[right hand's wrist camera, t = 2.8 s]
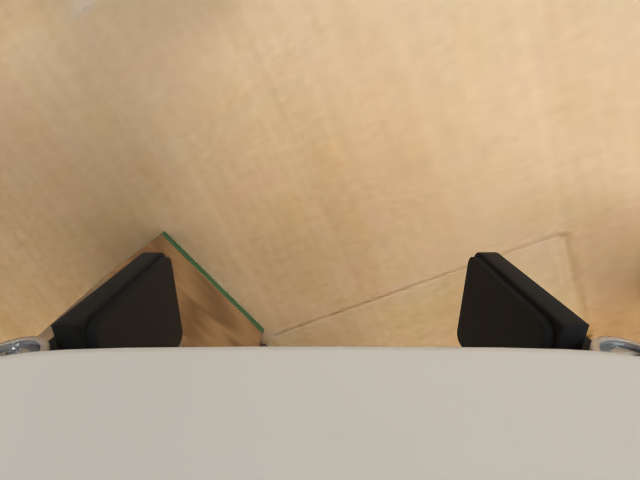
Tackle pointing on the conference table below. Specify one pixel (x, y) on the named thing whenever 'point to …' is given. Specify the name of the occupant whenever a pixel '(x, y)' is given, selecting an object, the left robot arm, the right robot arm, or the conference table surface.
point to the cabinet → (196, 303)
